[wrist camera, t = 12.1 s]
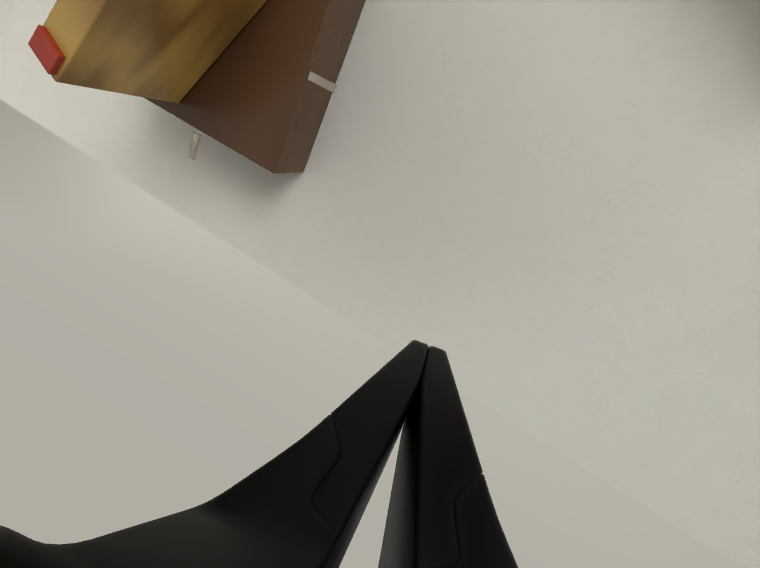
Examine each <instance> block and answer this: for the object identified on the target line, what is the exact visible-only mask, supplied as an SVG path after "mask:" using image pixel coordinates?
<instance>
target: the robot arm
mask: <svg viewBox="0 0 760 568" xmlns="http://www.w3.org/2000/svg"><path fill="white" fill-rule="evenodd" d="M403 424H404V425H403ZM402 426H403V429H402ZM401 429H402V434H401V439H400V445H399V451H398V456H397V462H396V469H395V474H394V480H393V485H392V491H391V497H390V503H389V508H388V515H387V520H386V527H385V532H384V537H383V543H382V550H381V555H380V560H379V566H378V568H518V566H517V564H516V562H515V559H514V557H513V554H512V552H511V550H510V547H509V545H508V542H507V540H506V537H505V535H504V532H503V530H502V527H501V525H500V522H499V520H498V517H497V514H496V511H495V508H494V505H493V503H492V499H491V496H490V494H489V490H488V487H487V484H486V480H485V477H484V475H483V474H482V472H483V471H482V468H481V465H480V462H479V458H478V455H477V452H476V448H475V445H474V442H473V439H472V435H471V432H470V429H469V426H468V422H467V419H466V416H465V413H464V409H463V406H462V403H461V400H460V397H459V393H458V390H457V387H456V384H455V380H454V377H453V374H452V371H451V367H450V364H449V361H448V358H447V354H446V352H445V351H444V350H442V349H439V348H436V347H433V346H430V347H429V348H428V345H427V344H425V343H422V342H419V341H416V340H413V341H412V342H410V343H409V344H408V345H407V346H406V347H405V348H404V349H403V350H401V351H400V352H399V353H398V354H397V355H396V356H395V357H394V358H393V359H391V360H390V361H389V362H388V363H387V364H386V365H385V366H384V367H382V368H381V369H380V370H379V371H378V372H377V373H376V374H375V375H373V376H372V377H371V378H370V379H369V380H368V381H367V382H366V383H365V384H363V385H362V386H361V387H360V388H359V389H358V390H357V391H356V392H354V394H352V395H351V396H350V397H349V398H348V399H347V400H345V401H344V402H343V403H342V404H341V405H340V406H339V407H338V408H337V409H335V410H334V411H333V412H332V413H331V415H328V416H327V417H326V418H325V419H324V420H323V421H322V422H321V423H320V424H318V425H317V426H316V427H315V428H314V429H312V430H311V431H310V432H309V433H308V434H306V435H305V436H304V437H303V438H301V439H300V440H299V441H298V442H296V443H295V444H293V445H292V446H291V447H289V448H288V449H286V450H285V451H284V452H282V453H281V454H279V455H278V456H277V457H275V458H274V459H272V460H271V461H269V462H268V463H266V464H265V465H264V466H262V467H260V468H259V469H258V470H256V471H255V472H253V473H252V474H250V475H249V476H247V477H246V478H245V479H243V480H241V481H240V482H238V483H237V484H236V485H234V486H233V487H231V488H230V489H228V490H227V491H225V492H224V493H222V494H220V495H219V496H217V497H215V498H214V499H212V500H210V501H208V502H206V503H204V504H201V505H199V506H197V507H194V508H191V509H188V510H185V511H182V512H179V513H175V514H172V515H169V516H166V517H162V518H159V519H156V520H152V521H149V522H146V523H143V524H139V525H136V526H133V527H130V528H127V529H123V530H120V531H117V532H113V533H110V534H107V535H104V536H101V537H97V538H94V539H91V540H87V541H82V542H78V543H71V544H60V545H58V544H44V543H41V542H37V541H34V540H32V539H30V538H28V537H26V536H24V535H22V534H20V533H18V532H15V531H13V530H11V529H9V528H6V527H3V526H0V568H339V565H340V563H341V561H342V559H343V557H344V555H345V552H346V550H347V548H348V546H349V544H350V542H351V539H352V537H353V535H354V533H355V530H356V528H357V526H358V524H359V522H360V520H361V517H362V515H363V513H364V511H365V508H366V506H367V504H368V502H369V500H370V498H371V495H372V493H373V491H374V488H375V486H376V484H377V482H378V480H379V478H380V476H381V473H382V471H383V469H384V467H385V465H386V462H387V460H388V458H389V456H390V453H391V451H392V449H393V447H394V445H395V443H396V440H397V438H398V436H399V434H400V431H401Z"/></svg>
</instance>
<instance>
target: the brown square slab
mask: <svg viewBox="0 0 760 568" xmlns="http://www.w3.org/2000/svg"><path fill="white" fill-rule="evenodd" d="M364 3H365V0H267V1H266V2H265V3H264V5H263V6H262V7H261V8H260V9H259V10H258V12H257V13H256V14H255V15H254V16H253V17H252V18H251V20H250V21H249V22H248V23H247V24H246V25H245V27H244V28H243V29H242V30H241V31H240V32H239V34H238V35H237V36H236V37H235V38H234V39H233V40H232V42H231V43H230V44H229V45H228V46H227V47H226V49H225V50H224V51H223V52H222V53H221V54H220V56H219V57H218V58H217V59H216V60H215V61H214V62H213V64H212V65H211V66H210V67H209V68H208V69H207V71H206V72H205V73H204V74H203V75H202V76H201V78H200V79H199V80H198V81H197V82H196V83H195V84H194V86H193V87H192V88H191V89H190V90H189V91H188V93H187V94H186V95H185V96H184V97H183V98H182V100H181V101H180V102H179V103H173V102H167V101H162V100H156V99H151V98H145V97H144V98H145V99H147V100H149V101H150V102H152V103H154V104H156V105H157V106H159V107H161V108H162V109H164V110H166V111H168V112H169V113H171V114H173V115H174V116H176V117H178V118H180V119H181V120H183V121H185V122H186V123H188V124H190V125H192V126H193V127H195V128H197V129H198V130H200V131H202V132H204V133H205V134H207V135H209V136H210V137H212V138H214V139H216V140H217V141H219V142H221V143H222V144H224V145H226V146H228V147H229V148H231V149H233V150H234V151H236V152H238V153H240V154H241V155H243V156H245V157H246V158H248V159H250V160H252V161H253V162H255V163H257V164H259V165H260V166H262V167H264V168H265V169H267V170H269V171H271V172H272V173H299V172H303V171H304V168H305V166H306V163H307V160H308V157H309V155H310V152H311V149H312V146H313V144H314V141H315V138H316V135H317V133H318V130H319V127H320V124H321V121H322V119H323V116H324V113H325V110H326V108H327V105H328V102H329V99H330V97H331V94H332V93H334V92H335V89H336V86H337V85H336V84H335V83H336V80H337V77H338V75H339V72H340V69H341V66H342V63H343V61H344V58H345V55H346V52H347V50H348V47H349V44H350V41H351V39H352V36H353V33H354V30H355V28H356V25H357V22H358V19H359V17H360V14H361V11H362V8H363V6H364ZM199 140H200V135H199V134H197V133H195V132H193V137H192V141H191V146H190V150H189V154H188V157H189V158H191V159H192V160H195V157H196V153H197V149H198V144H199Z"/></svg>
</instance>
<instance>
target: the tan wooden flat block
mask: <svg viewBox="0 0 760 568" xmlns="http://www.w3.org/2000/svg"><path fill="white" fill-rule="evenodd" d="M266 1H267V0H57V1H56V3H55V5H54V7H53V9H52V11H51V12H50V14H49V16H48V18H47V20H46V21H45V23H44V25H43V26H41V25H38V27H37V29H36V30H35V32H34V34H33V36H32V38H31V40H30V41H29V43H28V44H29V46H30V47H31V49H32V50H33V52H34V53H35V55H36V56H37V58H38V59H39V61H40V62H41V64H42V65H43V67H44V68H45V70H46V71H47V73H48V74H51V75H52V77H53V78H54V80H55V81H56V82H61V83H66V84H72V85H78V86H83V87H89V88H94V89H100V90H106V91H111V92H117V93H123V94H128V95H134V96H139V97H145V98H151V99H156V100H162V101H167V102H173V103H179V102H180V101H181V100H182V98H183V97H184V96H185V95H186V94H187V93H188V91H189V90H190V89H191V88H192V87H193V86H194V84H195V83H196V82H197V81H198V80H199V79H200V78H201V76H202V75H203V74H204V73H205V72H206V71H207V69H208V68H209V67H210V66H211V65H212V64H213V62H214V61H215V60H216V59H217V58H218V57H219V56H220V54H221V53H222V52H223V51H224V50H225V49H226V47H227V46H228V45H229V44H230V43H231V42H232V40H233V39H234V38H235V37H236V36H237V35H238V34H239V32H240V31H241V30H242V29H243V28H244V27H245V25H246V24H247V23H248V22H249V21H250V20H251V18H252V17H253V16H254V15H255V14H256V13H257V12H258V10H259V9H260V8H261V7H262V6H263V5H264V3H265V2H266Z"/></svg>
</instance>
